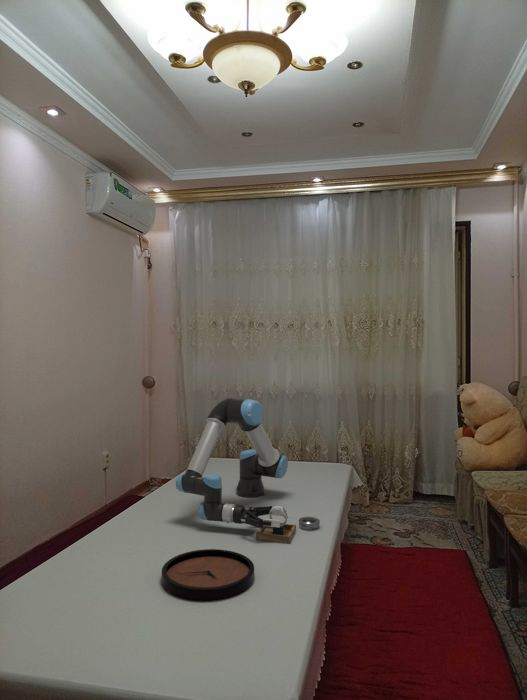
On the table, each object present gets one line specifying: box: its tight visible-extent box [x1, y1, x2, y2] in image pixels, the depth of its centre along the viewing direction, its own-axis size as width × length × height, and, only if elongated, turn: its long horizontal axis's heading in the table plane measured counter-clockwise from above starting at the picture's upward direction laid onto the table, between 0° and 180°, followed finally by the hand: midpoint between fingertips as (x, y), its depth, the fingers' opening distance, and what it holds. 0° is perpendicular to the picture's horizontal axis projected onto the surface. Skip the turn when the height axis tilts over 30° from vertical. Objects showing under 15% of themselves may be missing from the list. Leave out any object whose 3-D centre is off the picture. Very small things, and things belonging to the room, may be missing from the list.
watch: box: [268, 505, 289, 535], centre depth 216 cm, size 6×8×11 cm
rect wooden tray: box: [255, 523, 297, 545], centre depth 215 cm, size 14×14×3 cm
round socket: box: [298, 516, 320, 532], centre depth 225 cm, size 9×9×3 cm
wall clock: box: [161, 548, 255, 602], centre depth 176 cm, size 31×4×31 cm
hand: (283, 518), depth 214 cm, fingers open, 13 cm apart
